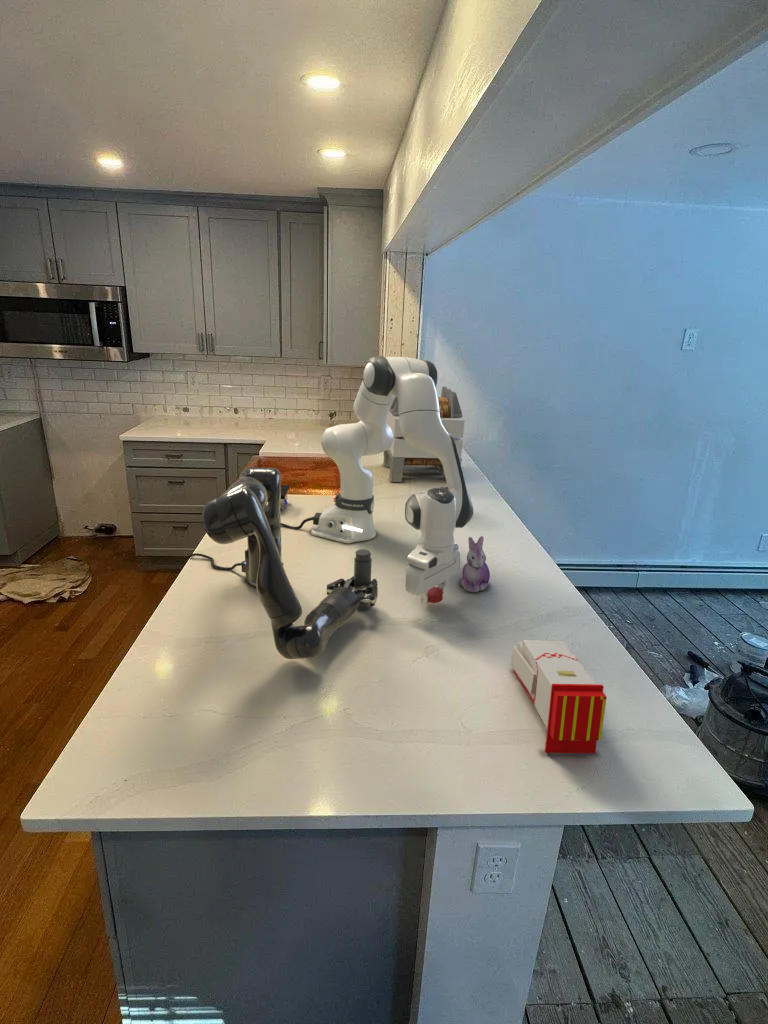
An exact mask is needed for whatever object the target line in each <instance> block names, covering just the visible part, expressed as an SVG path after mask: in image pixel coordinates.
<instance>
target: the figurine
mask: <svg viewBox="0 0 768 1024" xmlns="http://www.w3.org/2000/svg"><path fill="white" fill-rule="evenodd" d="M467 539H468V551H467V553H466V563H465V564H464V565H463V567H462V571H461V580H460V584H461V586H462V587H463V589H464V590H465V591H466V592H470V593H478V592H479V591H480V592H481V591H484V590H486V589H487V588H488V586H489V583H490V578H491V573H490V569H489V566H488V564H487V563H486V561H487V555H486V553H485V551H484V549H483V547H484V540H485V539H484V535H481V536H480V537H478V539H477V541H476V542H475V540H474V539H473V537H471V536H468V538H467Z"/></svg>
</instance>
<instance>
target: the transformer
mask: <svg viewBox="0 0 768 1024" xmlns="http://www.w3.org/2000/svg"><path fill="white" fill-rule="evenodd" d="M440 393H441V394H440V396H437V397H438V403H439V413H440V419H441V422H442V424H443V426H444V428H445V430H446V431H447V432H448V433H450V434H451V435H452V436H453V438H454V441H455V444H456V447H457V450H458V454H459V458H460V462H461V463H462V461H463V460H462V453H463V442H464V441H463V440H462V439H463V438H464V431H465V430H464V429H465V419H464V418H463V411H462V408H461V405H460V402H459V398H458V395H457V392H455V391H453V390H452V389H451V388H447V386H442V387H441V392H440ZM386 423H387V424H388V425H389V426H390V428H391V430H392V432H393V443H392V446H391V448H390V449H389V450H387V451H384V452H383V466H384V467H388V468H389V475H388V476H389V477H388V478H389V480H390V482H391V483H402V482H403V475H404V469H405V466H406V467H407V466H411V467H412V466H413V467H415V466H416V467H417V466H418V467H436V468H437V470H438V469H439V473H440V474H441V475H443V478H444V479H445V480H446V477H445V473H444V469H443V465H442V463H441V461H440V460H439V458H438V457H436V456H435V455H433V454H431V453H429V452H427V451H424V450H421V449H418V448H416V447H414V446H412V445H411V444H409V443H408V442H407V441H406V440H405V439H404V438H403V436H402V434H401V430H400V424H399V410H398V399H397V397H395V398H394V400H393V402H392V405H391V407H390V410H389V412H388V415H387V419H386Z"/></svg>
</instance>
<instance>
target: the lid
mask: <svg viewBox="0 0 768 1024" xmlns="http://www.w3.org/2000/svg"><path fill="white" fill-rule="evenodd" d="M427 596H429V597H430V599H429V600H430V601H429V602H428V603H429V604H438V603H441V602H442V601H443V598H444V593H443V591H442V589H440V588H438V587H437V586H435V587H433V588H431V589H430V590H428V593H427Z"/></svg>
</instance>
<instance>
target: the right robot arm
mask: <svg viewBox="0 0 768 1024" xmlns="http://www.w3.org/2000/svg"><path fill="white" fill-rule="evenodd" d="M438 381H439V373H438V369H437V366H436V365H435V364H434V363H433V362H432V361H430V360H426V359H423V358H420V359H419V358H414V357H409V356H408V357H407V356H384V355H380V356H378V355H377V356H373V357H370V358H369V359H368V360H367V361H366V363H365V364H364V367H363V370H362V380H361V383H360V386H359V389H358V391H357V394H356V396H355V399H354V402H353V406H352V407H353V412H354V414H355V416H356V418H358V420H359V421H357V422H354V423H353V422H352V423H342V424H341V423H340V424H336V425H333V426H330V427H327V428H325V430H324V431H323V433H322V435H321V441H320V443H321V444H320V445H321V448H322V450H323V453H324V454H325V455H326V456H327V457H329V458H330V459H331V460H332V461H333V462H334V464H335V465H336V467H337V470H338V473H339V482H340V484H339V485H340V488H339V489H340V490H339V491H338V492H337V494H336V495H335V496H334V497H333V502H334V504H333V505H331V506H329V507H328V508H326V509H325V510H323V512H315V514H314V515H313V516H312V517H311V516H310V517H308V518H305V519H303V520H302V521H301V522H300V524H299V525H297V526H292V525H289V524H286V523H283V522H281V527H284V528H285V529H286V528H287V529H291V530H300V529H301V528H303V526H304V525H305V524H306V523H307V522H311V521H312V525H313V526H312V528H311V530H310V533H311V536H315V537H319V538H323V539H326V540H330V541H336V542H339V543H343V544H352V543H357V542H365V541H368V540H372V539H373V538H375V537H376V535H377V532H376V528H375V523H374V513H373V512H374V509H375V496H374V474H373V472H372V471H371V469H369V468H368V467H366V466H364V465H362V462H361V461H362V460H361V459H362V458H361V457H364V456H373V455H378V454H382V453H384V451H387V450H389V449H390V448H391V446H392V443H393V432H392V430H391V428H390V426H389V425H388V424H387V423H386V419H387V415H388V412H389V410H390V407H391V405H392V402H393V400H394V398H395V397H397V399H398V410H399V424H400V430H401V434H402V436H403V438H404V439H405V440H406V441H407V442H408V443H409V444H411V445H412V446H414V447H416V448H418V449H421V450H424V451H427V452H429V453H431V454H433V455H435V456H436V457H438V458H439V460H440V461H441V463H442V465H443V469H444V473H445V477H446V479H445V481H446V485H447V486H446V487H448V490H446V489H442V488H440V487H434V488H430V489H428V490H426V491H425V492H417V493H413V494H411V495H410V496H409V497H408V499H407V500H406V502H405V505H404V520H405V521H406V522H407V524H408V525H410V526H411V527H412V528H413V529H415V530H417V531H418V530H419V531H420V538H419V543H418V544H417V545H416V547H415V548H414V549H413V550H412V551H411V552H410V553H408V555H407V556H406V563H407V564H408V565H407V567H406V573H405V581H404V582H405V583H404V585H405V591H406V592H407V593H408V594H410V595H412V596H414V597H419V596H420V602H421V604H424V605H427V604H428V603H429V601H430V600H429V599H430V597H429V596H427V593H428V590H430V589H431V588H433V587H438V588H440V589H442V591H443V594H444V592H445V588H446V586H447V584H448V580H449V579H451V578H453V577H454V576H456V575H458V574H459V572H460V570H461V553H460V551H459V544H458V543H457V542H456V541H455V537H454V532H455V529H458V528H460V529H462V528H464V527H465V526H466V525H468V523H469V522H470V521H471V520H472V518H473V515H474V504H473V501H472V498H471V496H470V493H469V490H468V487H467V484H466V479H465V475H464V471H463V467H462V462H460V458H459V454H458V450H457V447H456V444H455V441H454V438H453V436H452V435H451V434H450V433H448V432H447V431H446V430H445V428H444V426H443V424H442V422H441V419H440V413H439V403H438V397H439V396H438V393H437V385H438Z"/></svg>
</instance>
